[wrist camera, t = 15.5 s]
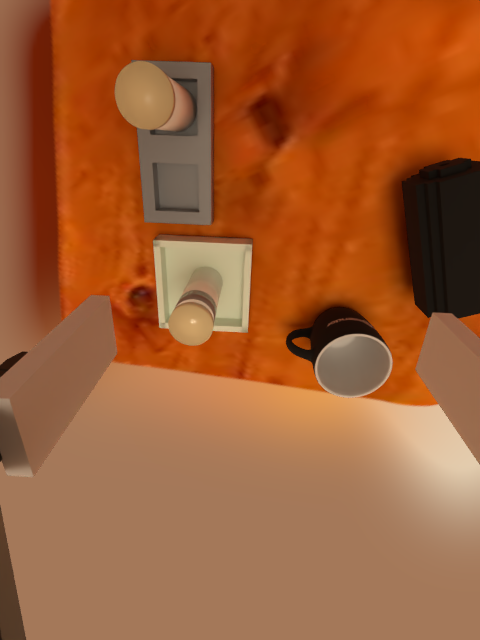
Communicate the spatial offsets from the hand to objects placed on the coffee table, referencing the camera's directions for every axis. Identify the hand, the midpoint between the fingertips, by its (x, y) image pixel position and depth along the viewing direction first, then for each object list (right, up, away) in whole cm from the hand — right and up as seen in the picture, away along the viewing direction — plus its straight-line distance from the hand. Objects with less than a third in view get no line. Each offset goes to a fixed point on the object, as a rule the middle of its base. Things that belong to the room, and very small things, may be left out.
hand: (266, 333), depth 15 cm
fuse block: (-8, +20, +27) cm, 35 cm away
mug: (+11, 0, +36) cm, 38 cm away
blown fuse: (-6, +6, +33) cm, 34 cm away
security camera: (+22, +11, +30) cm, 39 cm away
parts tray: (-6, +6, +34) cm, 35 cm away
